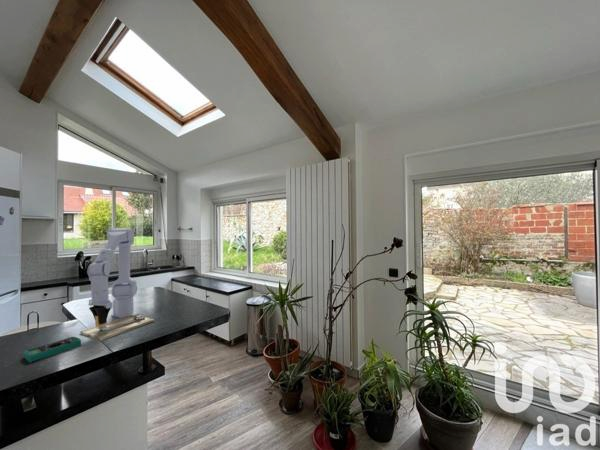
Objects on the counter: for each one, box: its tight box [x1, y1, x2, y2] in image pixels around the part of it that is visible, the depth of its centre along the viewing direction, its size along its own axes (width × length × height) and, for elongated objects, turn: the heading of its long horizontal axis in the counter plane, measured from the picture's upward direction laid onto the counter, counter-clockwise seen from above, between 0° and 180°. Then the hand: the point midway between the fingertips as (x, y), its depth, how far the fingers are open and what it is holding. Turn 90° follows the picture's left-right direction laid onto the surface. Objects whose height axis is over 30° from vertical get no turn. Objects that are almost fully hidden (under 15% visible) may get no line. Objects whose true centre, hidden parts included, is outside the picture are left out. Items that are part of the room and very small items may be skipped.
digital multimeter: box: [23, 336, 82, 363], centre depth 96 cm, size 7×15×3 cm, turn 147°
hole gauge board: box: [79, 312, 155, 342], centre depth 118 cm, size 16×22×4 cm
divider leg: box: [94, 315, 109, 331], centre depth 111 cm, size 6×3×7 cm, turn 62°
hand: (101, 322), depth 111 cm, fingers closed on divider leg, 2 cm apart
